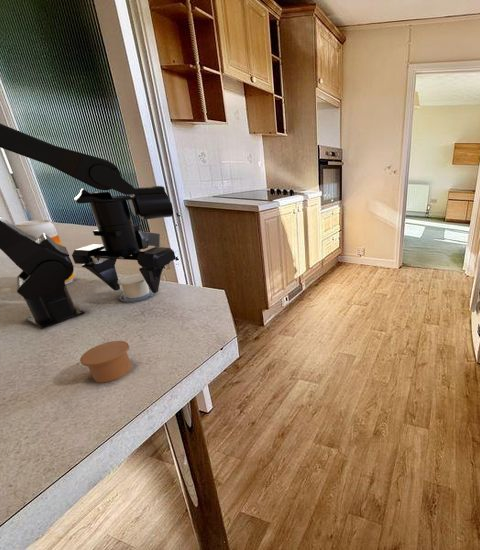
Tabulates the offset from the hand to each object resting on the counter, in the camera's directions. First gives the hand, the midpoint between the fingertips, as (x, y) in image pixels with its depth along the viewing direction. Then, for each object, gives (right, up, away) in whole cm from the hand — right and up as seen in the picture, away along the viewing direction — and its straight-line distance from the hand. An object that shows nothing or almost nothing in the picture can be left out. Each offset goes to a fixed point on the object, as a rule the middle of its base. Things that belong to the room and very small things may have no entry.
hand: (136, 291), depth 65 cm
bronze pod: (+14, -11, -22) cm, 28 cm away
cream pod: (0, -1, 0) cm, 1 cm away
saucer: (0, -1, +1) cm, 1 cm away
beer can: (-24, +2, +6) cm, 24 cm away
